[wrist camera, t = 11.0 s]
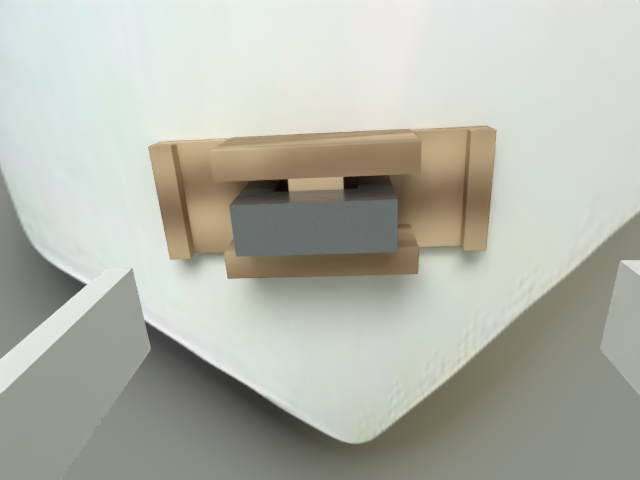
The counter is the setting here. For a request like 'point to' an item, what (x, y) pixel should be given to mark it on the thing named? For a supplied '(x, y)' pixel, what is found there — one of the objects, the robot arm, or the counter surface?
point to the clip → (315, 219)
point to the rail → (327, 174)
